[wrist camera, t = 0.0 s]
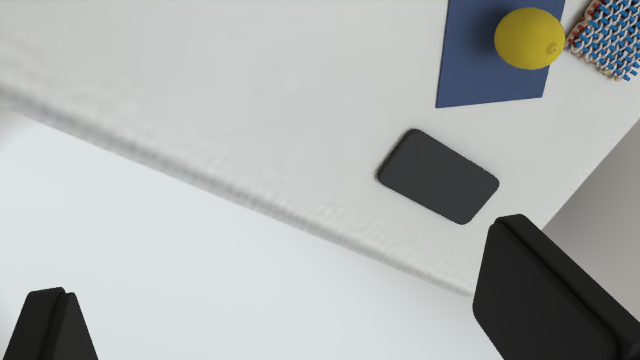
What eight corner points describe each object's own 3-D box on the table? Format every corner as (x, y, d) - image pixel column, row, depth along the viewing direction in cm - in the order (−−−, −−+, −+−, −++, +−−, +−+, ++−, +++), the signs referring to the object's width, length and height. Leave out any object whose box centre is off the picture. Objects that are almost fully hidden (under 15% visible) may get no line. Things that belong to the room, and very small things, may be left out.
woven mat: (622, -52, 49) (638, -50, 47) (679, -3, 53) (695, 1, 52) (556, 43, 52) (569, 48, 51) (614, 82, 57) (628, 88, 55)
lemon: (485, 0, 48) (535, 18, 41) (534, 0, 49) (591, 17, 42) (474, 56, 50) (519, 81, 44) (521, 55, 52) (572, 79, 45)
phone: (415, 127, 52) (503, 182, 59) (412, 124, 53) (500, 178, 60) (375, 181, 54) (464, 227, 61) (372, 177, 55) (461, 224, 62)
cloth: (459, -81, 43) (460, -81, 43) (584, -84, 46) (585, -83, 46) (435, 107, 53) (436, 108, 52) (540, 96, 55) (542, 97, 55)
